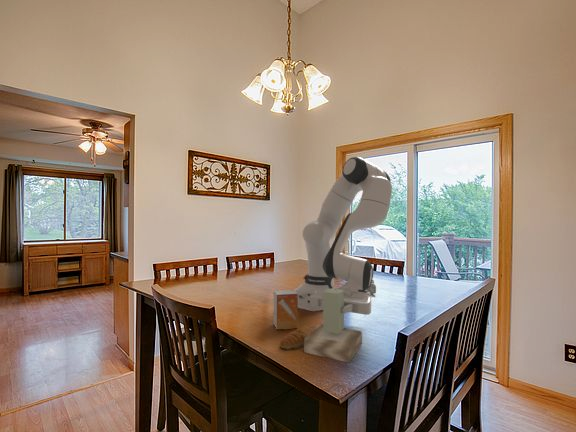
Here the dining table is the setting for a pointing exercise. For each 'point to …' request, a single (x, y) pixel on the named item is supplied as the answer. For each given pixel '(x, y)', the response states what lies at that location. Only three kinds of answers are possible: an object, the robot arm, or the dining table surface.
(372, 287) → the mug
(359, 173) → the robot arm
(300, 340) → the pastry
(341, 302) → the sage block
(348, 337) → the base plinth
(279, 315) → the small box
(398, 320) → the dining table surface
